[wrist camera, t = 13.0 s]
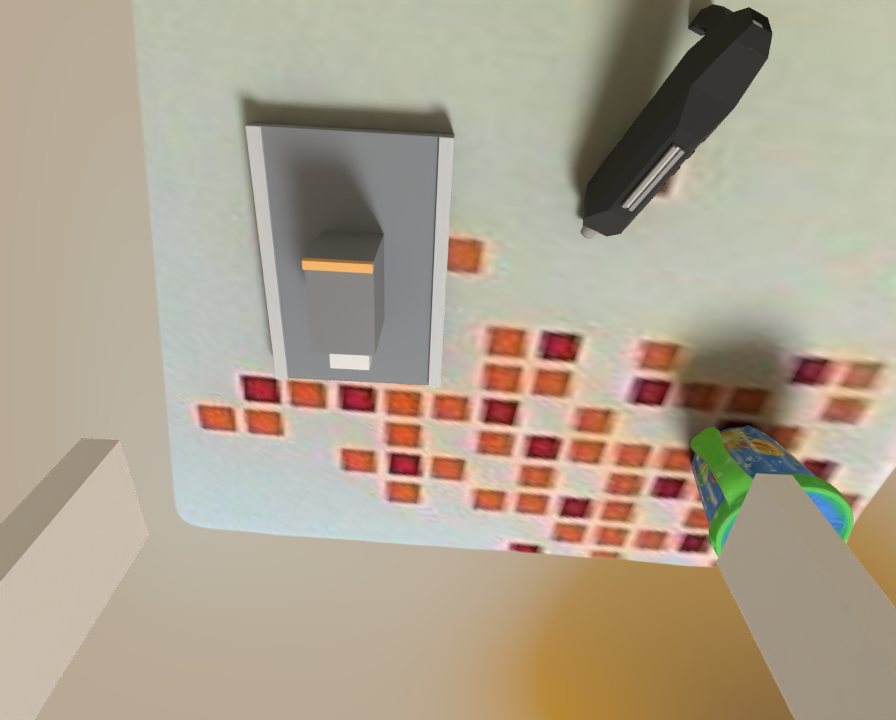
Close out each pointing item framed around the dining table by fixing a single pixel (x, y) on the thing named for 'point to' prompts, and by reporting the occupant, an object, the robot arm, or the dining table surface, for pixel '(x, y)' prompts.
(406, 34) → the dining table surface
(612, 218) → the gun
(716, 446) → the snack cup
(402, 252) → the slate pad
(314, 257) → the block
